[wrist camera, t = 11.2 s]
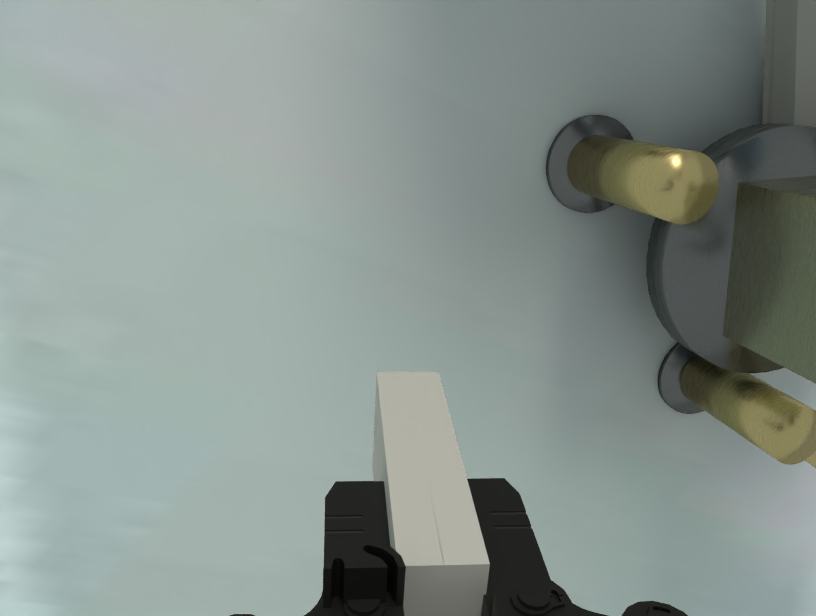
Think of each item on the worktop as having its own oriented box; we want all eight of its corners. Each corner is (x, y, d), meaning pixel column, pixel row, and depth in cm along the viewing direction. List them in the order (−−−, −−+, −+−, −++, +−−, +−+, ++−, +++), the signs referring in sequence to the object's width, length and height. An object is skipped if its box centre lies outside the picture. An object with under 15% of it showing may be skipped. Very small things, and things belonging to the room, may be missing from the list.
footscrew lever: (670, 387, 46) (760, 449, 38) (701, 344, 45) (798, 398, 38) (807, 477, 51) (909, 546, 44) (836, 438, 51) (944, 502, 43)
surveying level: (547, 117, 39) (790, 153, 23) (872, 98, 44) (1260, 116, 28) (540, 435, 45) (730, 640, 29) (827, 387, 50) (1127, 540, 34)
